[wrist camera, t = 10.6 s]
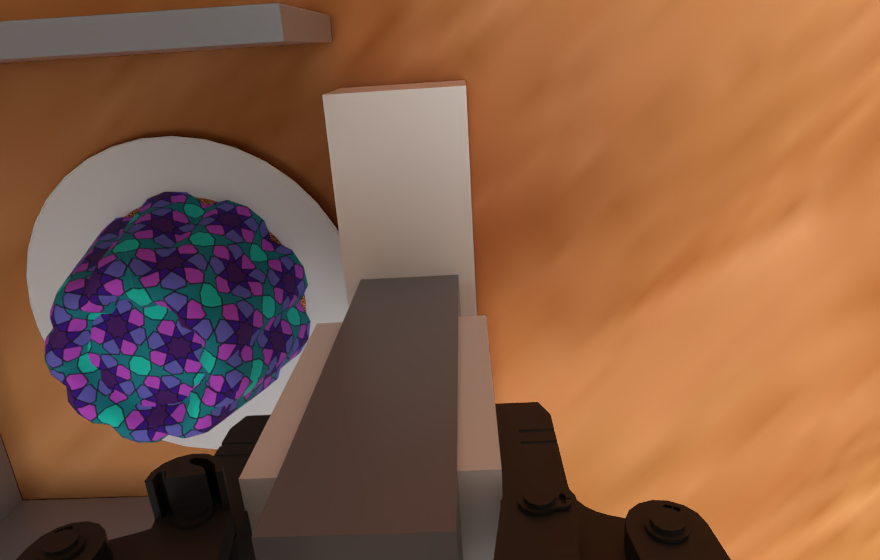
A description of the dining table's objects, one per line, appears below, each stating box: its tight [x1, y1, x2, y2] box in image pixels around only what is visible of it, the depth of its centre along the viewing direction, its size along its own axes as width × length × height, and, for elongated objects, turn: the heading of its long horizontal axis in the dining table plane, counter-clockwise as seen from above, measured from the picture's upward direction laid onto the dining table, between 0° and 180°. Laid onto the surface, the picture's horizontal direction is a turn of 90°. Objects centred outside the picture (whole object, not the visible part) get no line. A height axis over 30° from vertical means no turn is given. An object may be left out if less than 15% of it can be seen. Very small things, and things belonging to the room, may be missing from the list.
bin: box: [0, 3, 333, 560], centre depth 21 cm, size 19×16×6 cm
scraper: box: [251, 80, 477, 560], centre depth 16 cm, size 14×4×14 cm, turn 4°
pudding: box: [26, 136, 348, 449], centre depth 21 cm, size 12×12×5 cm
